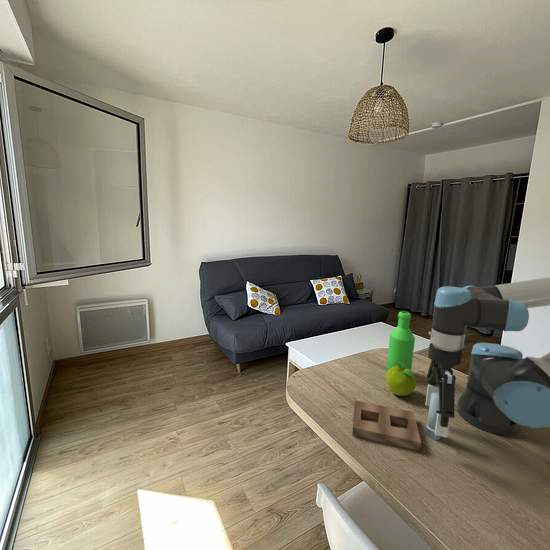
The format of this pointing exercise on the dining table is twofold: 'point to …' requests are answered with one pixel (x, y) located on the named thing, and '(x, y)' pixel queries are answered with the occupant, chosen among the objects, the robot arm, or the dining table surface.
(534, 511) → the dining table surface
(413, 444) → the board
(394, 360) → the bottle
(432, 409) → the peg
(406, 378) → the fruit
